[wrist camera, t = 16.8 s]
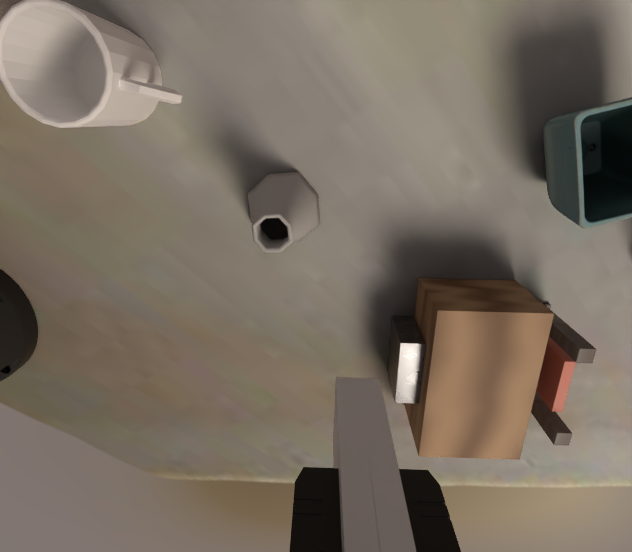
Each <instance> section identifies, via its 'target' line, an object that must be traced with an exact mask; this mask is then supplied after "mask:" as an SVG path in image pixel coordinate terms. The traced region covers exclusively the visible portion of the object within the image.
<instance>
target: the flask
mask: <svg viewBox="0 0 632 552" xmlns="http://www.w3.org/2000/svg"><path fill="white" fill-rule="evenodd" d="M248 202H249V210H250V218H251V223H252V232H253V240H254V242H255V243H256V244H257V245H258V246H259V247H260V248H261V249H262V251H263V252H264V253H271V252H281V251H282V250H284V249H285V248H286V247H287V246H288V245H290V244H291V243H292V242H299V241H300V240H301V239H302V238H303V237H305V236H306V235H307V234H308V233H309V232H311V231H312V230H313V229H314V228H315V227H317V226H318V225H319V224H320V216H319V201H318V194H317V193H316V192H315V191H314V189H313V188H312V187H311V186H310V185H309V183H308V182H307V181H306V180H305V179H304V178H303V176H302V175H301V174H300V173H299V172H290V173H274V174H268V175H267V176H266V177H265V178H264V179H263V180H262V181H261V182H259V183H258V184H257V185H256V186H255V187H254V188H253V189H252V190H251V191H249V192H248Z"/></svg>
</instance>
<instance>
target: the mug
mask: <svg viewBox="0 0 632 552" xmlns="http://www.w3.org/2000/svg"><path fill="white" fill-rule="evenodd" d="M0 80H1V82H2V83H3V85H4V87H5V89H6V90H7V92H8V94H9V96H10V97H11V98H12V99H13V100H14V101H15V103H16V104H17V105H18V106H19V107H20V108H21V109H22V110H23V111H24V112H25V113H27V114H28V115H30V116H32V117H33V118H35V119H37V120H38V121H40V122H42V123H44V124H48V125H52V126H56V127H59V128H67V127H97V126H124V125H134V124H136V123H139V122H141V121H143V120H145V119H146V118H147V117H148V116H149V115H150V114H151V113H152V112H153V111H154V110H155V108H156V106H157V104H158V102H159V101H163V102H168V103H173V104H177V103H181V99H182V95H180V94H179V93H178V92H176V91H175V90H173V89H170V88H166V87H163V86H162V77H161V71H160V66H159V64H158V62H157V60H156V58H155V55H154V53H153V52H152V50H151V49H150V48H149V47H148V46H147V44H146V43H145V42H144V41H143V40H142V39H141V38H140V37H138V36H137V35H135V34H134V33H132V32H131V31H129V30H127V29H125V28H123V27H120V26H118V25H116V24H114V23H111V22H109V21H107V20H105V19H103V18H100V17H98V16H96V15H94V14H91V13H89V12H87V11H85V10H82V9H80V8H78V7H76V6H74V5H71V4H69V3H67V2H64V1H60V0H23V1H21V2H19V3H17V4H15V5H13V6H11V8H10V9H9V10H8V11H7V12H6V14H5V15H4V16H3V17H2V18H1V20H0Z"/></svg>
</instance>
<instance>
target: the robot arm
mask: <svg viewBox="0 0 632 552" xmlns="http://www.w3.org/2000/svg"><path fill="white" fill-rule="evenodd" d="M37 338H38V327H37V321H36V317H35V314H34V311H33V309H32V306H31V304H30V302H29V301H28V299H27V297H26V296H25V294H24V293H23V292H22V290H21V289H20V288H19V287H18V286H17V285H16V283H15V282H14V281H13V280H12V279H10V278H9V277H8V276H7V275H6V274H4V273H3V272H2V271H0V381H2V380H4V379H6V378H7V377H9V376H10V375H12V374H13V373H14V372H15V371H17V370H18V369H19V368H20V367H21V366H23V365H24V364H25V363H26V362H27V361H28V360H29V358H30V357H31V356H32V354H33V352H34V350H35V347H36V344H37ZM333 456H334V468H311V467H303V469H302V471H301V473H300V474H299V476H298V478H297V479H296V481H295V490H294V503H293V517H292V529H291V543H290V552H461V551H460V547H459V544H458V541H457V538H456V535H455V532H454V529H453V525H452V522H451V520H450V516H449V513H448V510H447V506H446V505H445V500H444V497H443V494H442V491H441V487H440V485H439V484H438V482H437V481H436V480H435V479H434V477H433V476H432V475H431V474H430V472H429V471H428V470H409V469H399V468H398V463H397V459H396V454H395V449H394V445H393V440H392V435H391V431H390V426H389V421H388V417H387V412H386V407H385V403H384V398H383V393H382V389H381V384H380V379H379V378H350V377H336V389H335V409H334V430H333Z"/></svg>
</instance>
